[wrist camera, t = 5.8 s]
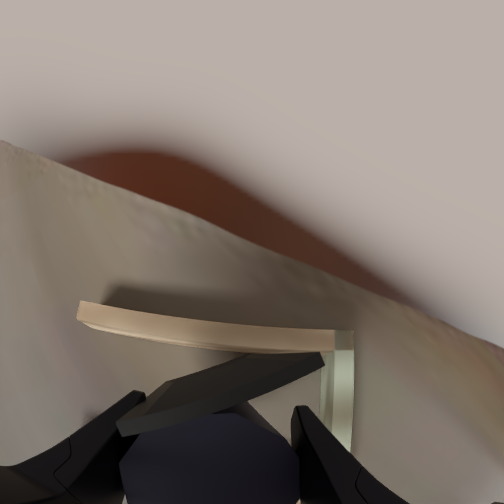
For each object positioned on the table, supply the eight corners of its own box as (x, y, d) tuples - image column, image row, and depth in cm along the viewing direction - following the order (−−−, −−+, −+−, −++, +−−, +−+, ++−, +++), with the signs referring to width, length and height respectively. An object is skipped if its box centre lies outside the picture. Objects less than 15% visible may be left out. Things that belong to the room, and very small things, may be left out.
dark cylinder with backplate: (154, 350, 15) (89, 327, 6) (251, 353, 16) (324, 334, 7) (159, 466, 12) (120, 564, 3) (254, 467, 13) (319, 560, 4)
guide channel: (330, 486, 15) (344, 497, 12) (78, 452, 14) (60, 457, 12) (339, 338, 21) (353, 330, 19) (96, 311, 21) (80, 300, 18)
